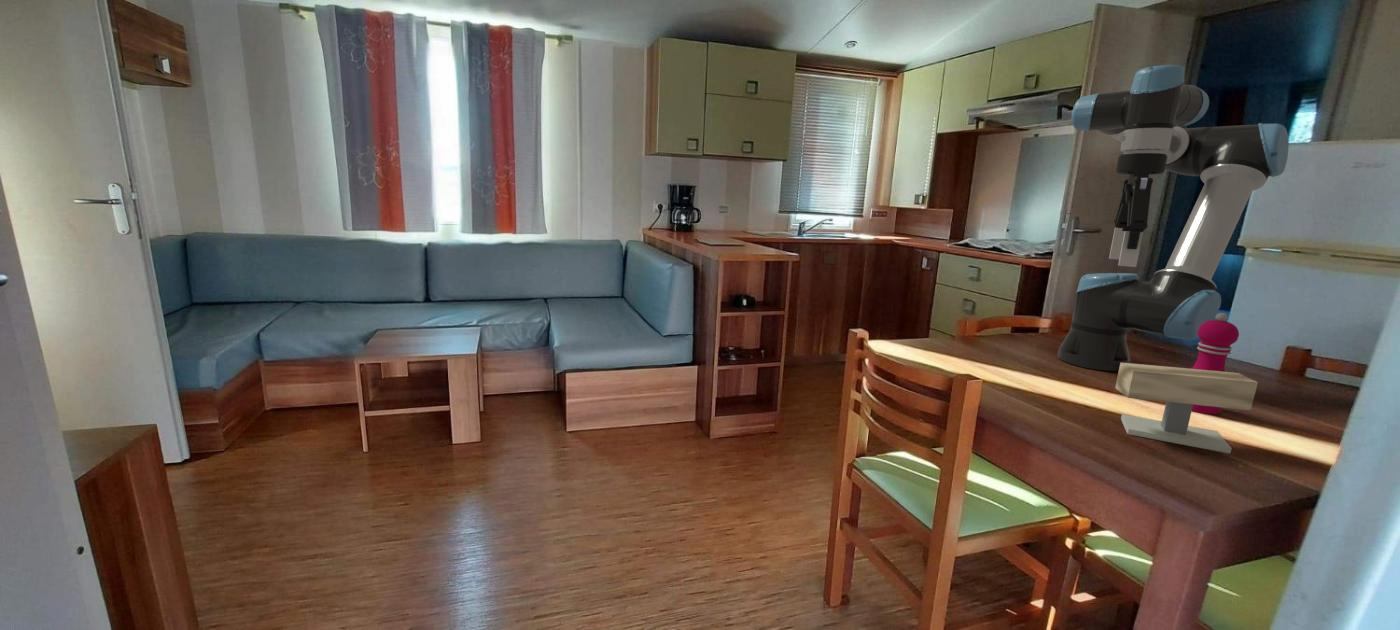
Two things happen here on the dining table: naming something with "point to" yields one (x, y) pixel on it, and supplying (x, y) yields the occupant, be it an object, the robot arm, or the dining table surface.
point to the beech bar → (1186, 386)
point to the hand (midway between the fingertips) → (1121, 262)
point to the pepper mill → (1214, 350)
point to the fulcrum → (1176, 429)
